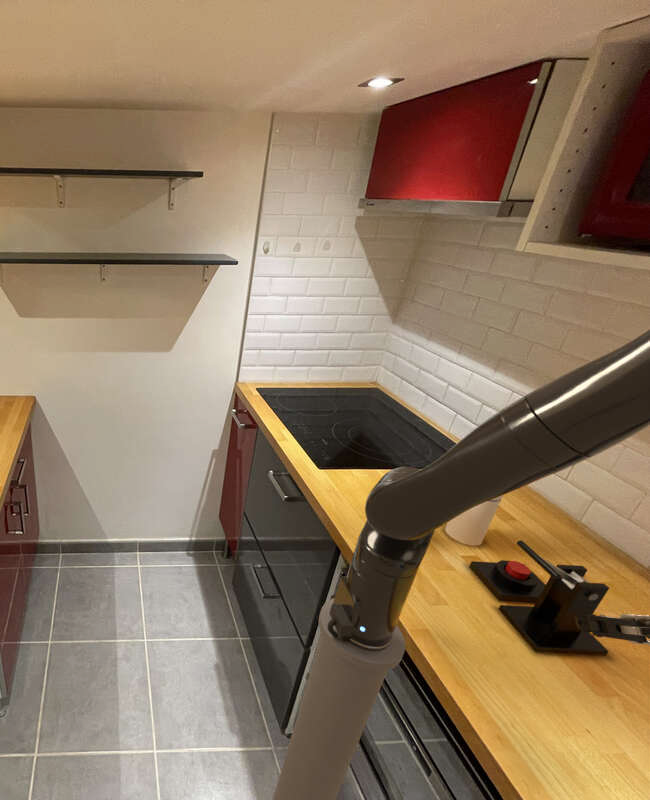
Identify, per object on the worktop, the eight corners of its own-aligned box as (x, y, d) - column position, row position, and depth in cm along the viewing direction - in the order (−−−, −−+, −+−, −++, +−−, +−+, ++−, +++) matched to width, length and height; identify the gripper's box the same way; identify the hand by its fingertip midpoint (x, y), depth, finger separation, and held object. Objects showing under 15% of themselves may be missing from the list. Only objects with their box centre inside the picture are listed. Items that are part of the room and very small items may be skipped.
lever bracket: (534, 651, 79) (568, 595, 73) (498, 609, 87) (526, 555, 81) (605, 656, 78) (645, 599, 72) (562, 612, 86) (594, 558, 80)
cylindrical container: (438, 528, 108) (473, 438, 98) (459, 522, 110) (496, 434, 100) (467, 548, 102) (508, 454, 91) (489, 541, 104) (532, 449, 94)
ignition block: (498, 601, 88) (505, 588, 87) (468, 567, 97) (474, 554, 95) (556, 604, 88) (563, 591, 87) (521, 569, 96) (527, 557, 95)
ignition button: (513, 580, 89) (516, 573, 89) (500, 566, 93) (503, 560, 92) (532, 581, 89) (535, 574, 89) (518, 567, 93) (521, 561, 92)
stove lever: (548, 580, 72) (561, 571, 72) (511, 545, 80) (523, 536, 79) (598, 610, 74) (611, 601, 74) (557, 573, 82) (569, 565, 81)
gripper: (812, 608, 49) (651, 598, 64) (677, 600, 50) (549, 592, 65) (847, 686, 47) (671, 657, 62) (704, 677, 47) (565, 650, 63)
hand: (609, 624), depth 63 cm, fingers open, 8 cm apart
